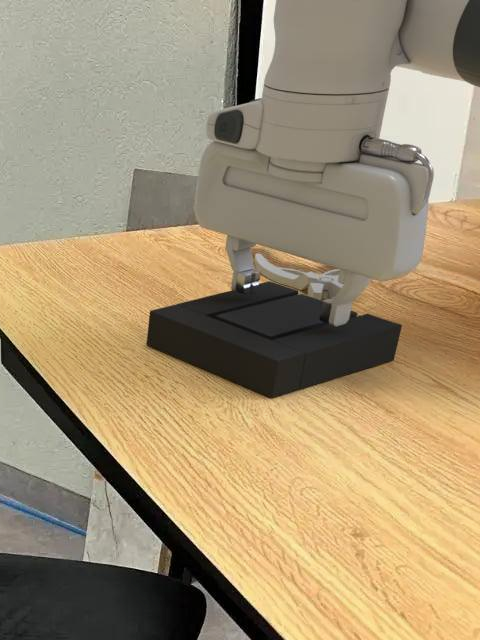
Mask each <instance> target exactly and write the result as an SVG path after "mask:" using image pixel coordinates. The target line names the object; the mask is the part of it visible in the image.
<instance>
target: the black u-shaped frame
mask: <svg viewBox="0 0 480 640" xmlns="http://www.w3.org/2000/svg"><path fill="white" fill-rule="evenodd" d="M298 294H299V289H295V288H292V287H289V286H286V285H283V284H280V283H277V282H274V281H270V280H268V281H264V282H259V288H258V290H257V291H256V292H255V293H249V294H248V295H245V294H242V293H239V292H235V291H233V290H232V289H231V290H228V291H224V292H223V291H222V292H220V293H219V292H218V293H216V294H212V295H208V296H207V295H206V296H203V297H199V298H196V299H191V300H186V301H184V302H179V303H176V304H171V305H168V306H164V307H160V308H156V309H152V310H149V316H148V327H147V335H146V346H148V347H150V348H153V349H155V350H157V351H160V352H162V353H165V354H167V355H170V356H172V357H174V358H176V359H179V360H181V361H183V362H185V363H188V364H191V365H192V366H195V367H197V368H200V369H202V370H205V371H207V372H209V373H212V374H214V375H216V376H218V377H221V378H224V379H226V380H228V381H230V382H233V383H235V384H237V385H240V386H243V387H245V388H246V389H249V390H252V391H254V392H257V393H259V394H261V395H263V396H266V397H268V398H271V399H273V398H277V397H279V396H283V395H287V394H289V393H292V392H296V391H299V390H303V389H305V388H309V387H312V386H316V385H319V384H322V383H325V382H329V381H331V380H335V379H339V378H341V377H344V376H348V375H351V374H354V373H358V372H361V371H364V370H367V369H371V368H374V367H377V366H380V365H384V364H386V363H390V362H393V361H395V358H396V353H397V348H398V344H399V341H400V336H401V331H402V327H403V325H402V324H401V323H398V322H396V321H395V322H394V321H392V320H388V319H385V318H382V317H379V316H376V315H373V314H370V313H365V314H360V315H357V317H353V318H350V319H349V320H348V321H347V323H345V324H343V325H339V326H333V325H330V324H328V325H325V326H321V327H318V328H314V329H310V330H307V331H303V332H300V333H296V334H293V335H289V336H285V337H282V338H278V339H275V340H269V339H267V338H264V337H261V336H259V335H256V334H254V333H251V332H248V331H246V330H243V329H240V328H238V327H235V326H232V325H230V324H227V323H224V322H222V321H219V320H216V319H215V317H216V315H220V314H224V313H227V312H231V311H235V310H239V309H243V308H247V307H251V306H255V305H259V304H263V303H267V302H271V301H275V300H279V299H282V298H286V297H290V296H294V295H298Z"/></svg>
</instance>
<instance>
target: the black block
mask: <svg viewBox="0 0 480 640" xmlns="http://www.w3.org/2000/svg"><path fill="white" fill-rule="evenodd" d="M322 301H323V300H322V299H321V300H318V299H315V298H312V297H309V296H307V294H303V293H298V295H294V296H290V297H286V298H282V299H279V300H275V301H271V302H267V303H263V304H259V305H255V306H251V307H247V308H243V309H239V310H235V311H231V312H227V313H224V314H220V315H216V317H215V319H216V320H219V321H222V322H224V323H227V324H230V325H232V326H235V327H238V328H240V329H243V330H246V331H248V332H251V333H254V334H256V335H259V336H261V337H264V338H267V339H269V340H275V339H278V338H282V337H285V336H289V335H293V334H296V333H300V332H303V331H307V330H310V329H314V328H318V327H321V326H325V325H328V323H325V322H322V321H320V319H319V316H320V313H321V312H322V310H321V306H322ZM357 316H358V312H357V311H353V310H351V312H350V317H349V319H350V318H353V317H357Z"/></svg>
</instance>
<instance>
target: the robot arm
mask: <svg viewBox="0 0 480 640" xmlns="http://www.w3.org/2000/svg"><path fill="white" fill-rule="evenodd" d="M273 14H274V15H273V29H274V37H275V38H274V50H273V54H272V59H271V61H270V64H269V66H268V68H267V70H266V74H265V75H264V80H263V86H262V93H261V97H260V98H256V99H252V100H250V101H249V102H246V103H242V104H238V105H234V106H230V107H225V108H220V109H217V110H213V111H212V112H210V114H208V117H207V120H206V129H205V130H206V131H205V132H206V137H207V138H208V139H209V140H210V141H212V142H210V143H209V144H207V146H206V148H205V149H204V150H203V153H202V156H201V159H200V162H199V168H198V172H197V173H198V174H197V179H196V187H195V195H194V204H193V210H194V211H193V212H194V217H195V219H196V221H197V223H198V226H199V227H200V228H201V229H206V230H208V231H212V232H215V233H219V234H222V235H225V236H226V241H225V251H226V254H227V257H228V260H229V264H230V267H231V270H232V278H231V285H230V289H231V290H233V291H235V292H239V293H242V294H245V295H248V294H249V293H255V292H256V291H257V290H258V288H259V284H260V282H259V281H260V280H261V276H262V274H261V271H259V270H257V269H256V268H255V264H254V259H253V253H252V249H251V248H255V247H256V246H257V245H258V246H262V247H265V248H267V249H272V250H275V251H279V252H282V253H284V254H288V255H291V256H295V257H298V258H302V259H304V260H308V261H311V262H314V263H317V264H321V265H323V266H328V267H331V268H334V269H340V271H339V276H338V283H341V284H344V285H343V286H342V288H341V289H340V290H339V292H338V293H337V295H336V296H335V297H333V298H332V299H322V300H321V301H322V306H321V310H322V312H321V313H320V316H319V319H320V321H322V322H325V323H328V324H330V325H333V326H339V325H343V324H345V323H347V321H348V320H349V317H350V312H351V311H352V307H353V302H355V301H357V299H358V298H359V296H360V295H361V294H362V293H363V292H364V291H365V289H366V288H367V287H368V286H369V285H370V283H371V281H372V280H374V281H377V282H388V281H392V280H396V279H399V278H403V277H405V276H408V275H410V274H411V273H412V272H413V271H414V270H415V269H416V268H417V267H418V266H419V265H420V263H421V261H422V257H423V253H424V247H425V242H426V241H425V240H426V234H427V226H428V216H429V215H428V214H429V199H430V195H431V191H432V188H433V183H434V179H435V178H434V177H435V170H434V167H433V166H432V165H431V162H430V160H429V159H428V158H427V157H426V156H425V155H424V154H423V153H422V149H421V148H420V147H418V146H416V145H413V144H409V143H402V144H401V143H397V142H393V141H391V140H387V139H384V138H383V139H382V138H381V137H380V136H381V131H382V126H383V121H384V116H385V112H386V106H387V102H388V101H387V100H388V96H389V92H390V87H391V81H392V80H391V77H392V76H391V73H392V71H393V69H394V68H396V67H398V68H403V69H407V70H411V71H418V72H420V73H422V74H426V75H429V76H434V77H438V78H439V77H440V78H443V79H444V78H445V79H449V80H454V81H460V82H465V83H468V84H469V85H472V86H475V87H477V88H480V0H275V5H274V12H273ZM418 161H419V162H420V163H419V162H418Z"/></svg>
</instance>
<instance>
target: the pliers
mask: <svg viewBox="0 0 480 640" xmlns="http://www.w3.org/2000/svg"><path fill="white" fill-rule="evenodd" d="M253 264H254V268H255V269H256V270H259V271H261V276H264V277H266V278H267V279H269V280H271V281H272V282H274V283H277V284H279V285H283V286H286V287H290V288H293V289H295V290H298V291H304V290H306V289H308V290H307V294H306V296H309V297H312V298H315V299H318V300H321V301H322V300H326V299H328V298H330V299H332V298H333V297H335V296H336V295H337V293H338V292H339V290H340V289H341V288H342V286H343V285H344V284H341V283H338V276H339V271H340V269H337V268H334V269H332V270H328V271H325V272H324V273H322V274H321V273H315V272H314V271H312V270H311V271H307V272H306V271H305V272H304V271H302V270H297V269H293V268H287V267H280V266H277V265H274V264H273V263H271V262H269V261H268V260H267V259H266V258H265V256H263V254H261V253H255V256H254V262H253Z"/></svg>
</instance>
